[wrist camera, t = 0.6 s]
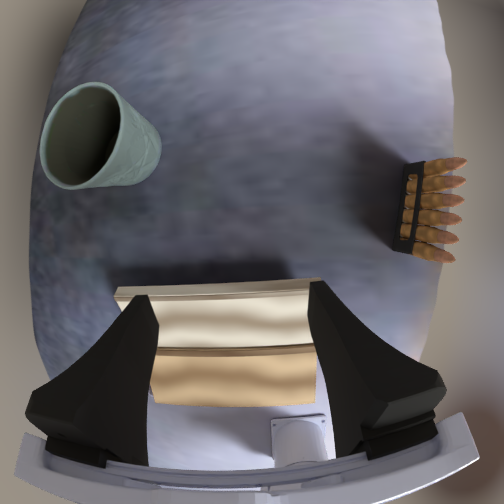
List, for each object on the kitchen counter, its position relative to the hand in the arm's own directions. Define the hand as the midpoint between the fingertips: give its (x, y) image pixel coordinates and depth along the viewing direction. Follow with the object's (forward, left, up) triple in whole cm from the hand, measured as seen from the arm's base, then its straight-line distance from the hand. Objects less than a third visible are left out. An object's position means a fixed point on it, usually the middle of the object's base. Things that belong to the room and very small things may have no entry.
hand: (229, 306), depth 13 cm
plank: (-7, +4, -19) cm, 20 cm away
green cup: (+13, +14, -21) cm, 28 cm away
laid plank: (-16, +4, -21) cm, 27 cm away
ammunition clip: (+4, -19, -21) cm, 28 cm away
